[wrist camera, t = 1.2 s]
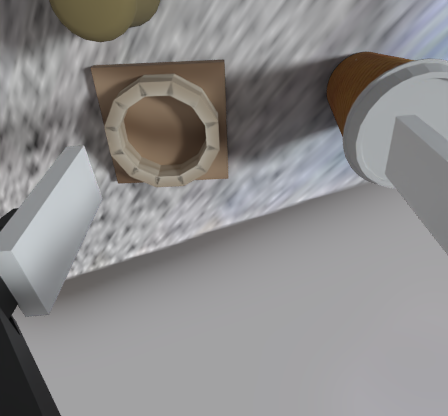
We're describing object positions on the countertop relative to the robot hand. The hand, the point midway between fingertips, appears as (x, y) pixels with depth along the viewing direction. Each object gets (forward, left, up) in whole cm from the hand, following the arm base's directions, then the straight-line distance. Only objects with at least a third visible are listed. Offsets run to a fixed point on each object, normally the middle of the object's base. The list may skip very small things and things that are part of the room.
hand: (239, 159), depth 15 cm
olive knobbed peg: (-6, -8, -21) cm, 23 cm away
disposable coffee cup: (+3, +13, -21) cm, 25 cm away
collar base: (+6, -6, -21) cm, 23 cm away
